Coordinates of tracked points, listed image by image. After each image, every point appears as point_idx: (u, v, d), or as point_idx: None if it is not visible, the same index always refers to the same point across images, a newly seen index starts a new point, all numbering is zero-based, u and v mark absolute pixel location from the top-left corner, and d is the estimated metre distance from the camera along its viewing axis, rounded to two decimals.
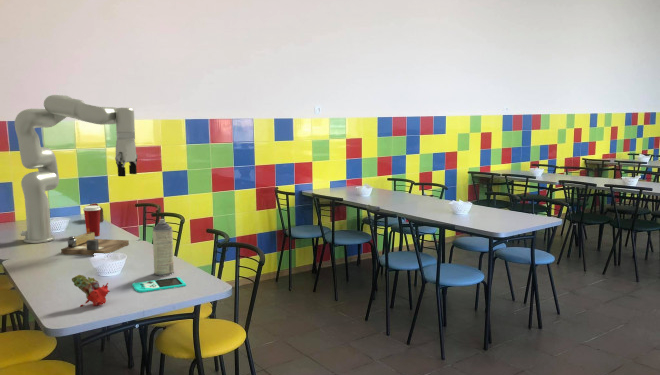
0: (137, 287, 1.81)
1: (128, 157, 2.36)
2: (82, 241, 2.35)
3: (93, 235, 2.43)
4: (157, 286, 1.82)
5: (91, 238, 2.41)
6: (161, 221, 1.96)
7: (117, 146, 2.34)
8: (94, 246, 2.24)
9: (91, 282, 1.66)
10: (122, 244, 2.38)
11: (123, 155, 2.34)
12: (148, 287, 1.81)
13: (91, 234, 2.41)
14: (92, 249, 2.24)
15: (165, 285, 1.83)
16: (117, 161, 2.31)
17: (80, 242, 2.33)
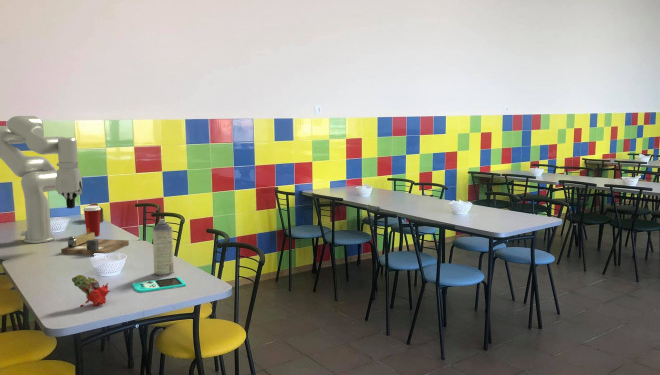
0: (137, 287, 1.81)
1: None
2: (82, 241, 2.35)
3: (93, 235, 2.43)
4: (157, 286, 1.82)
5: (91, 238, 2.41)
6: (161, 221, 1.96)
7: (77, 176, 2.35)
8: (94, 246, 2.24)
9: (91, 282, 1.66)
10: (122, 244, 2.38)
11: (81, 184, 2.38)
12: (148, 287, 1.81)
13: (91, 234, 2.41)
14: (92, 249, 2.24)
15: (165, 285, 1.83)
16: None
17: (80, 242, 2.33)
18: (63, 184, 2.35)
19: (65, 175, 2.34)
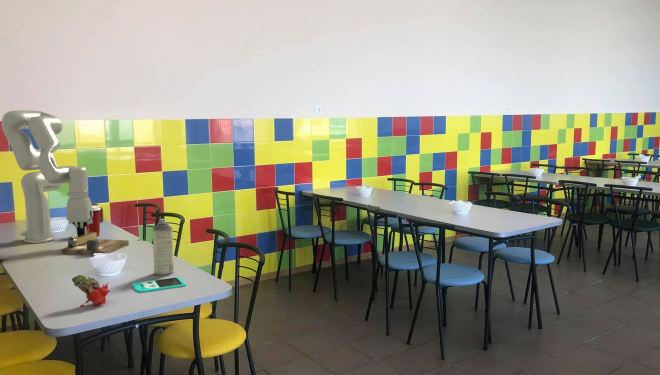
0: (137, 287, 1.80)
1: None
2: (83, 241, 2.34)
3: (95, 235, 2.42)
4: (157, 286, 1.82)
5: (93, 238, 2.41)
6: (161, 221, 1.96)
7: (87, 205, 2.35)
8: (94, 246, 2.24)
9: (91, 282, 1.66)
10: (122, 244, 2.38)
11: (92, 213, 2.39)
12: (148, 287, 1.80)
13: (93, 234, 2.41)
14: (92, 249, 2.24)
15: (165, 285, 1.83)
16: None
17: (80, 242, 2.33)
18: (74, 213, 2.35)
19: (76, 204, 2.35)
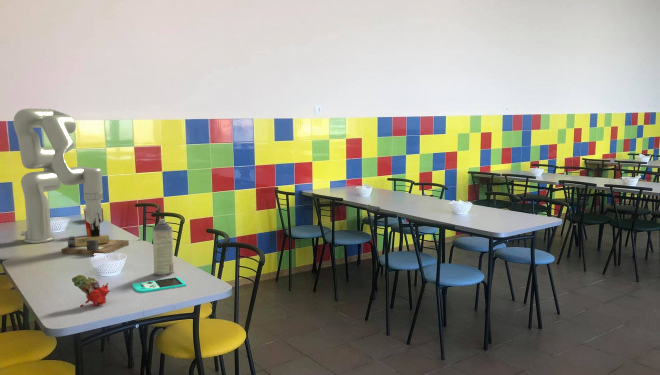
0: (137, 287, 1.80)
1: None
2: (86, 243, 2.31)
3: (106, 238, 2.36)
4: (157, 286, 1.81)
5: (103, 241, 2.35)
6: (161, 221, 1.96)
7: (93, 208, 2.31)
8: (94, 246, 2.24)
9: (91, 282, 1.66)
10: (122, 244, 2.38)
11: (100, 216, 2.33)
12: (148, 287, 1.80)
13: (103, 237, 2.35)
14: (92, 249, 2.24)
15: (165, 285, 1.83)
16: (97, 226, 2.33)
17: (82, 243, 2.31)
18: (87, 214, 2.35)
19: (87, 205, 2.33)
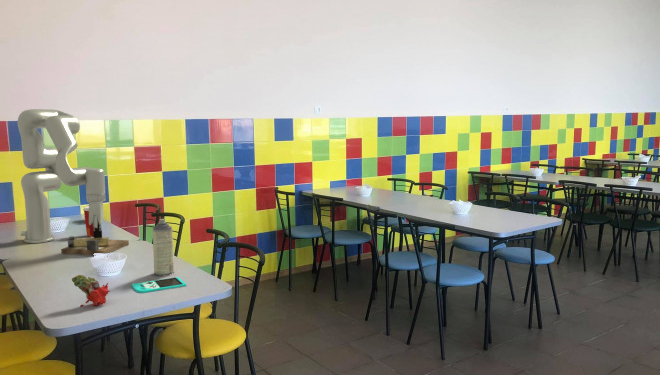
0: (137, 288, 1.80)
1: (102, 218, 2.32)
2: (85, 244, 2.29)
3: (106, 241, 2.31)
4: (157, 286, 1.81)
5: (102, 243, 2.31)
6: (161, 221, 1.96)
7: (91, 209, 2.28)
8: (94, 246, 2.24)
9: (91, 282, 1.66)
10: (122, 244, 2.38)
11: (98, 218, 2.29)
12: (148, 287, 1.80)
13: (102, 239, 2.31)
14: (92, 249, 2.24)
15: (165, 285, 1.83)
16: (96, 228, 2.30)
17: (81, 244, 2.29)
18: None
19: None
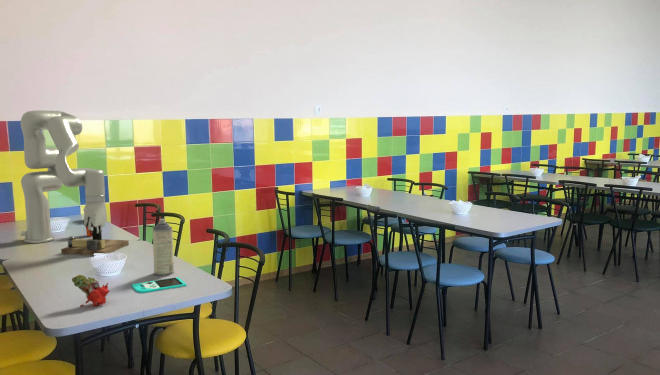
0: (137, 288, 1.80)
1: (98, 221, 2.27)
2: (81, 245, 2.27)
3: (99, 244, 2.26)
4: (157, 286, 1.81)
5: None
6: (161, 221, 1.96)
7: (86, 211, 2.24)
8: (94, 246, 2.24)
9: (91, 282, 1.66)
10: (122, 244, 2.38)
11: (92, 220, 2.24)
12: (148, 287, 1.80)
13: None
14: (92, 249, 2.24)
15: (165, 285, 1.83)
16: (91, 230, 2.26)
17: (78, 245, 2.28)
18: None
19: None
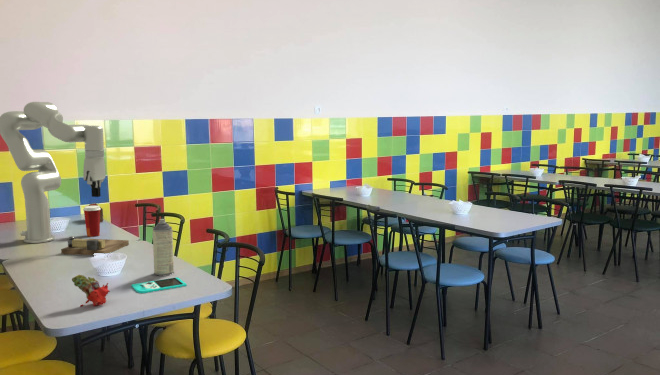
0: (137, 288, 1.80)
1: (97, 175, 2.33)
2: (81, 245, 2.27)
3: (99, 244, 2.26)
4: (158, 286, 1.81)
5: None
6: (161, 221, 1.96)
7: (85, 165, 2.31)
8: (94, 246, 2.24)
9: (91, 282, 1.66)
10: (122, 244, 2.38)
11: (91, 174, 2.31)
12: (149, 288, 1.80)
13: None
14: (92, 249, 2.24)
15: (166, 285, 1.83)
16: (90, 184, 2.33)
17: (78, 245, 2.28)
18: None
19: None
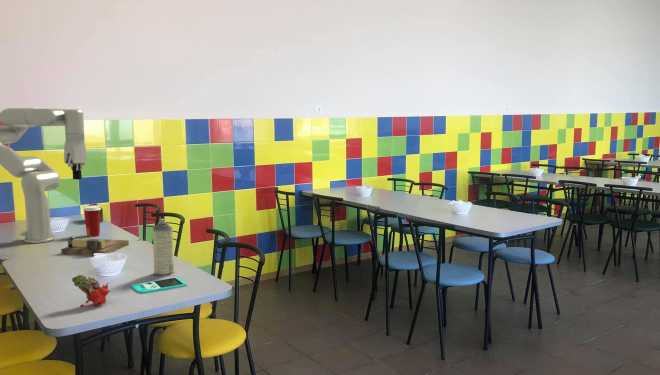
0: (138, 288, 1.79)
1: (77, 158, 2.38)
2: (81, 245, 2.27)
3: (99, 244, 2.26)
4: (158, 287, 1.81)
5: None
6: (161, 221, 1.96)
7: (65, 147, 2.35)
8: (94, 246, 2.24)
9: (91, 282, 1.66)
10: (122, 244, 2.38)
11: (71, 156, 2.35)
12: (149, 288, 1.80)
13: None
14: (92, 249, 2.24)
15: (166, 285, 1.82)
16: (71, 167, 2.37)
17: (78, 245, 2.28)
18: None
19: None
